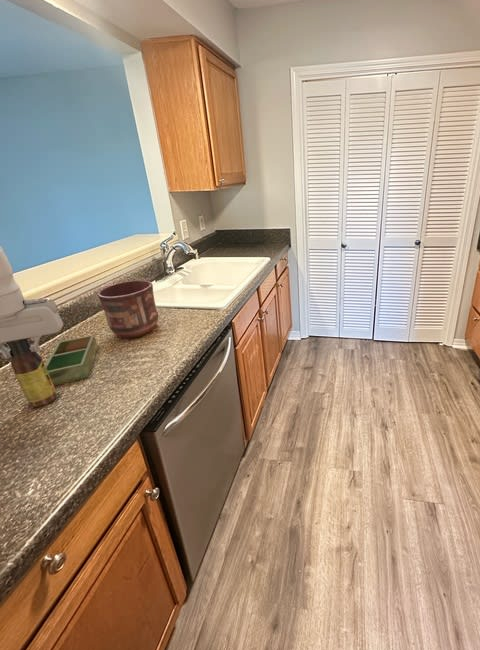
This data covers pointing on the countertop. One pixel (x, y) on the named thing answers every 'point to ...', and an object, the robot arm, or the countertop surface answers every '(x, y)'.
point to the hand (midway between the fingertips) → (23, 354)
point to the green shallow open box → (72, 360)
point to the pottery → (130, 308)
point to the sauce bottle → (31, 374)
